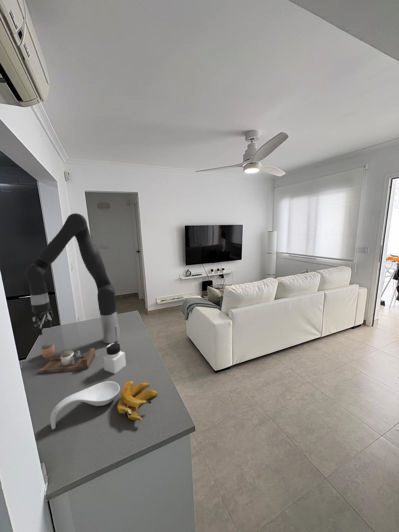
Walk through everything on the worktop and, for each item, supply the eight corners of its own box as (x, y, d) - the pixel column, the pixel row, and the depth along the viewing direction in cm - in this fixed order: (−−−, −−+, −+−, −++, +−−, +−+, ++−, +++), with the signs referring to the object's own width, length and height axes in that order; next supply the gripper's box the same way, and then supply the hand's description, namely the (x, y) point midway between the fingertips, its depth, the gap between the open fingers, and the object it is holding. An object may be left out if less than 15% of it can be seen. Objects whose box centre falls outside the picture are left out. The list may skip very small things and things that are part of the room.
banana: (123, 434, 70) (121, 419, 69) (113, 396, 87) (112, 383, 86) (167, 413, 78) (166, 399, 77) (150, 382, 94) (149, 370, 93)
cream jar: (76, 359, 111) (75, 349, 110) (72, 366, 105) (70, 355, 104) (65, 360, 110) (63, 350, 109) (59, 367, 104) (57, 356, 103)
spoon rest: (114, 384, 93) (112, 369, 92) (125, 399, 85) (123, 383, 84) (48, 416, 78) (45, 399, 77) (54, 439, 69) (50, 420, 68)
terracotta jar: (57, 351, 120) (55, 341, 119) (51, 357, 114) (49, 347, 113) (46, 352, 119) (44, 342, 118) (40, 358, 114) (38, 348, 113)
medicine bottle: (126, 365, 106) (124, 342, 104) (115, 374, 99) (112, 350, 97) (115, 362, 109) (113, 340, 107) (104, 370, 102) (101, 347, 100)
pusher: (81, 358, 111) (79, 349, 110) (75, 366, 105) (73, 356, 104) (78, 358, 111) (77, 349, 110) (72, 366, 105) (71, 357, 104)
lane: (95, 356, 114) (94, 348, 113) (88, 368, 104) (86, 359, 103) (50, 360, 111) (49, 352, 110) (38, 373, 101) (37, 364, 101)
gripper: (39, 306, 105) (44, 337, 108) (55, 297, 119) (59, 324, 122) (23, 307, 104) (28, 338, 107) (40, 298, 118) (45, 325, 121)
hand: (44, 331), depth 114 cm, fingers open, 8 cm apart
